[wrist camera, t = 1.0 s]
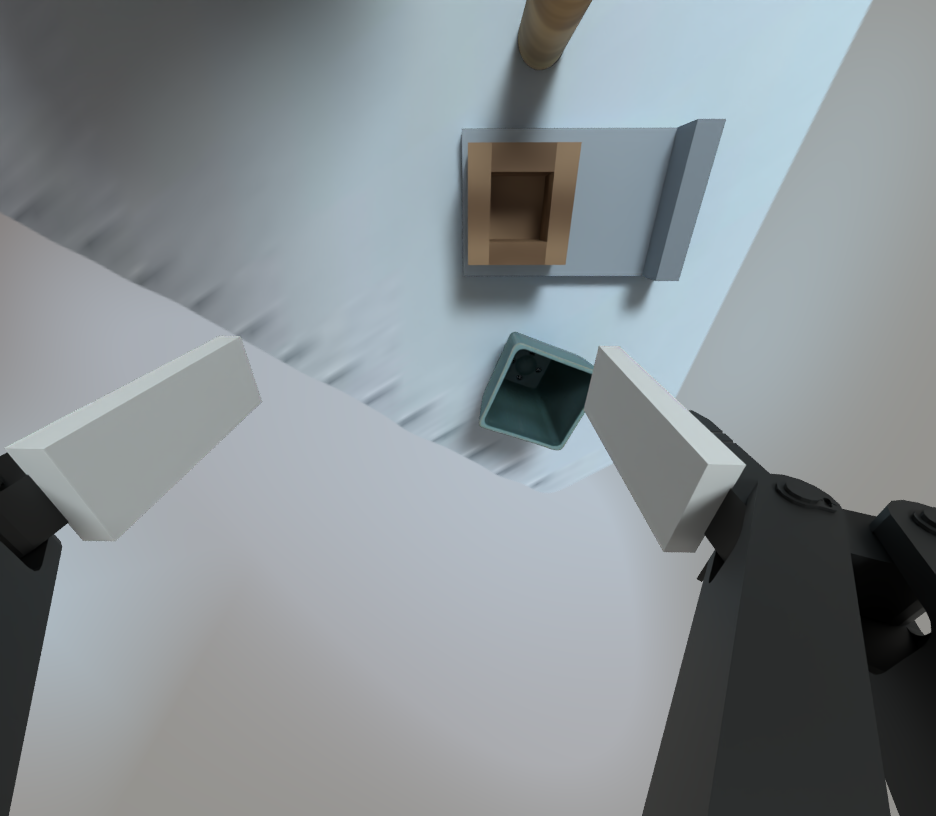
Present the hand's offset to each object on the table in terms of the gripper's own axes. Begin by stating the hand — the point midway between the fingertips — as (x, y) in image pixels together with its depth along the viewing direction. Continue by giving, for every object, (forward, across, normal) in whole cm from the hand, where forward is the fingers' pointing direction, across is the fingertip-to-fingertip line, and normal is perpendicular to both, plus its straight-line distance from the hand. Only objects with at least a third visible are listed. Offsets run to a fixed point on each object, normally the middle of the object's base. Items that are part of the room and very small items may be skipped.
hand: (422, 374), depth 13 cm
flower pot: (+24, +8, -10) cm, 27 cm away
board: (+24, +10, +6) cm, 26 cm away
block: (+22, +6, +5) cm, 24 cm away
